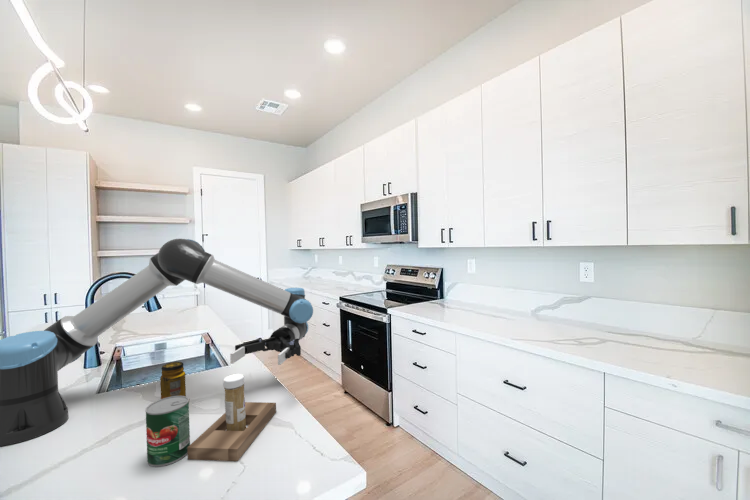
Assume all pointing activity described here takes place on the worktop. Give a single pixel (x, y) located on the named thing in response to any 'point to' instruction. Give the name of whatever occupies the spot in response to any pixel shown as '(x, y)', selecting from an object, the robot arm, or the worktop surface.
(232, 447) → the hole board
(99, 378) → the worktop surface
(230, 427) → the sprinkles bottle
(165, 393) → the condiment
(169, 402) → the canned tomato
